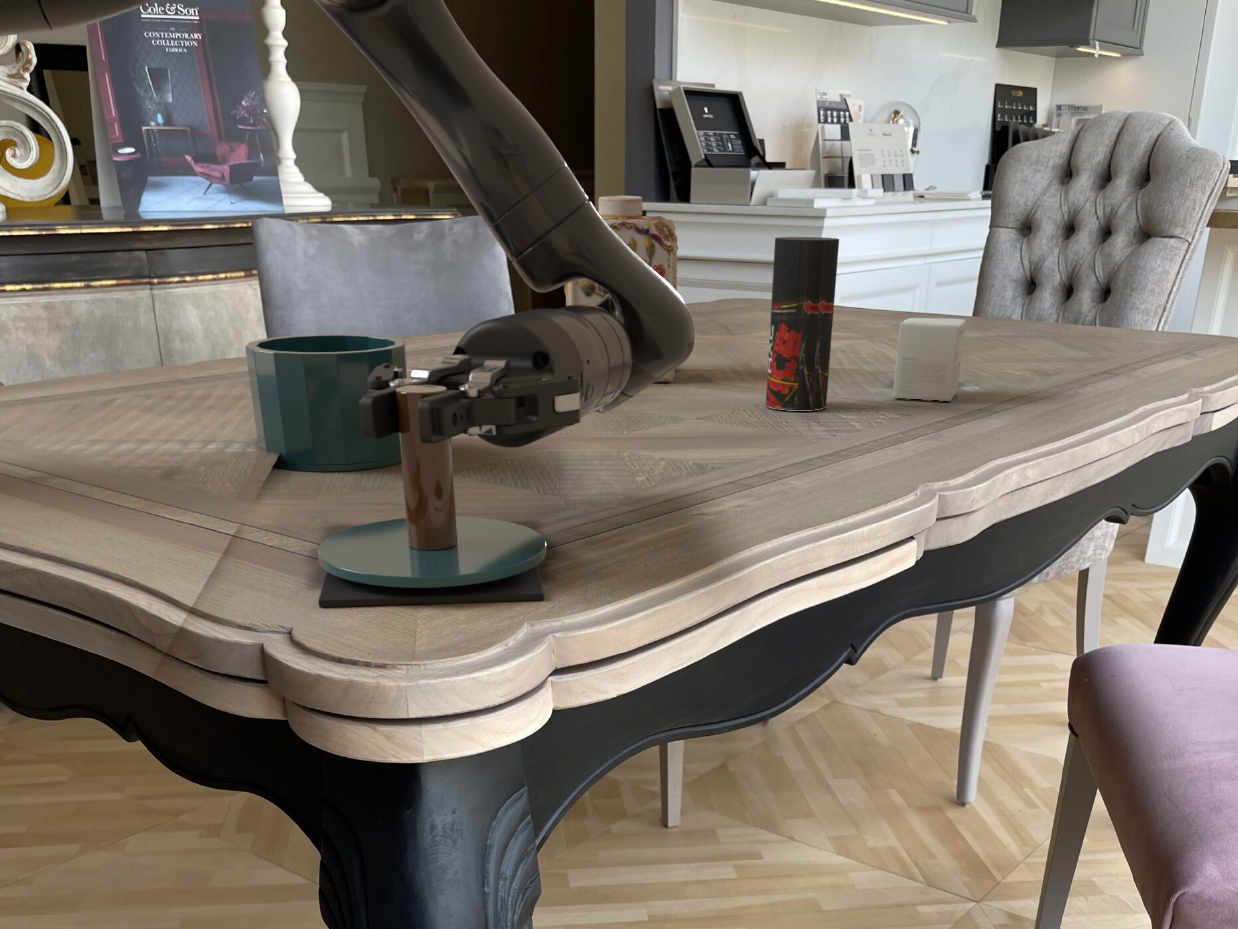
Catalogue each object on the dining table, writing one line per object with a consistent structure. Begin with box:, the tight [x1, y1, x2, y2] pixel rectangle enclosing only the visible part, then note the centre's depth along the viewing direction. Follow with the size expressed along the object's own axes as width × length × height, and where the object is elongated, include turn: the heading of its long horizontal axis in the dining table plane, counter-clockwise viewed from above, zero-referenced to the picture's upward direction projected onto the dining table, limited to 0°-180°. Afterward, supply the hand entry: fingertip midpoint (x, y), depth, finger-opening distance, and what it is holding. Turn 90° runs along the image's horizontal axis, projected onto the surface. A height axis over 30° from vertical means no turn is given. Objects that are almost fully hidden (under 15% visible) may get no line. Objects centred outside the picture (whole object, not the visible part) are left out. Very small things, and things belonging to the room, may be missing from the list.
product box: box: [892, 317, 967, 402], centre depth 128 cm, size 6×6×7 cm
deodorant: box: [765, 236, 840, 410], centre depth 120 cm, size 6×6×15 cm
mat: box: [318, 565, 545, 608], centre depth 72 cm, size 12×12×1 cm
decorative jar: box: [563, 195, 679, 383], centre depth 136 cm, size 12×12×18 cm
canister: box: [244, 333, 409, 473], centre depth 99 cm, size 12×12×8 cm
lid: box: [317, 385, 547, 588], centre depth 70 cm, size 13×13×10 cm
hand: (397, 420), depth 66 cm, fingers closed on lid, 3 cm apart
